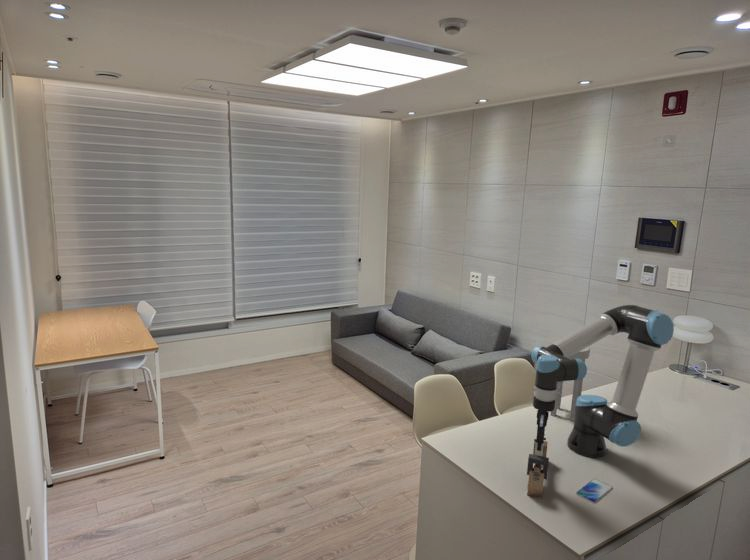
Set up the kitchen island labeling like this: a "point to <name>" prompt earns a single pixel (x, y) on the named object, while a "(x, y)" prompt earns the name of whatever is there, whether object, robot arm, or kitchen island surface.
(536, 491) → the sliding collar rod
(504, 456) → the kitchen island surface
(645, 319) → the robot arm
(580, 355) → the stool
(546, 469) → the grey rectangular sleeve
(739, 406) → the kitchen island surface
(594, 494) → the smartphone
